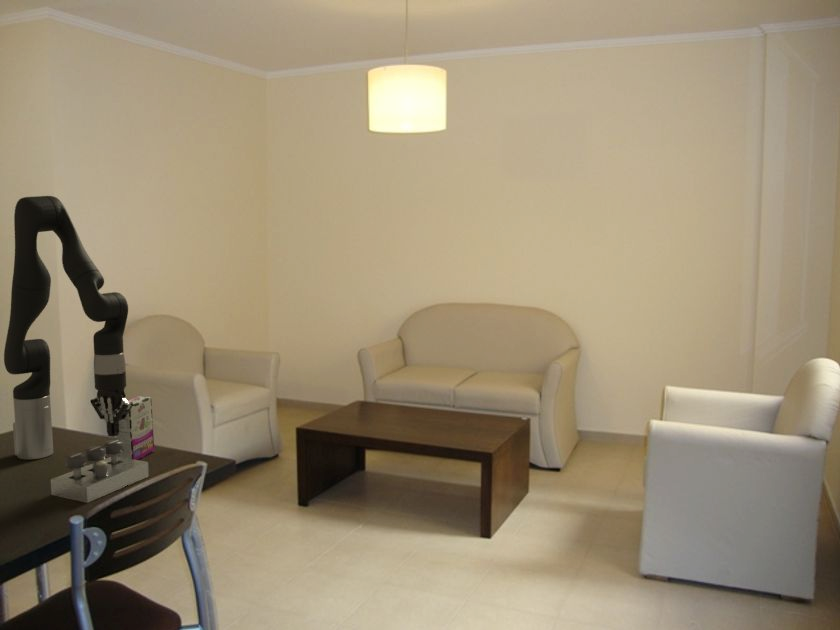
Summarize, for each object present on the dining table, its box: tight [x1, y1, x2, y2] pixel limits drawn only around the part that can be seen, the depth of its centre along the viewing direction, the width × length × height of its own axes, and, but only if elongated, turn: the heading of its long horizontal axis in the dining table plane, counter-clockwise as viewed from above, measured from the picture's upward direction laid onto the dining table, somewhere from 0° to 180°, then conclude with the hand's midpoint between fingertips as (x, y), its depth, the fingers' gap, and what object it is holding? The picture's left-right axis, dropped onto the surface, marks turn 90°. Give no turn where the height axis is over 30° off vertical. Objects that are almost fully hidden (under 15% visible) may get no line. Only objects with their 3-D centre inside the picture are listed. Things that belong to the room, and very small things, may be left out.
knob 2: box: [84, 445, 107, 472], centre depth 191 cm, size 5×5×6 cm
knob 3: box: [103, 438, 124, 465], centre depth 197 cm, size 5×5×6 cm
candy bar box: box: [116, 395, 155, 461], centre depth 213 cm, size 11×5×16 cm, turn 168°
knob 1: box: [65, 451, 88, 480], centre depth 186 cm, size 5×5×6 cm
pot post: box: [95, 460, 108, 478], centre depth 187 cm, size 3×3×4 cm
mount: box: [50, 456, 150, 504], centre depth 191 cm, size 12×20×4 cm, turn 156°
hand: (113, 435), depth 196 cm, fingers closed
